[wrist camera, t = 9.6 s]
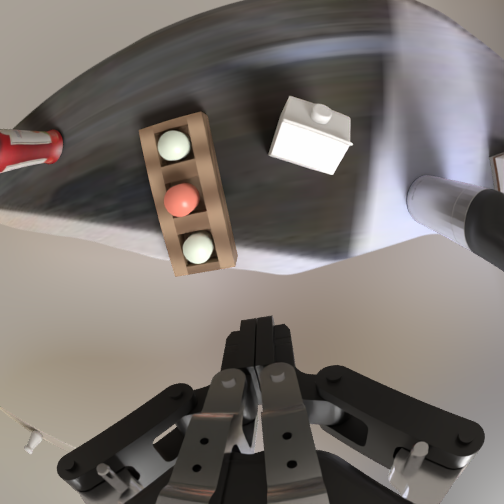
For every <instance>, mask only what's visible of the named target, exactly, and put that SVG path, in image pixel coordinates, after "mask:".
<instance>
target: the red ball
mask: <svg viewBox="0 0 504 504" xmlns="http://www.w3.org/2000/svg"><path fill="white" fill-rule="evenodd" d="M199 201H200V194H199V191H198V190H197V188H196V187H195V186H194V185H192V184H190V183H181V184H178V185H176V186H173V187H171V188H170V189H169V190H168V191H167V192H166V194H165V197H164V205H165V208H166V209H167V211H168V212H169V213H170V214H171V215H173V216H176V217H183V216H186V215H188V214H189V213H190V212H191V211H193V210H194V209H195V208H196V207H197V206H198V204H199Z"/></svg>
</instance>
